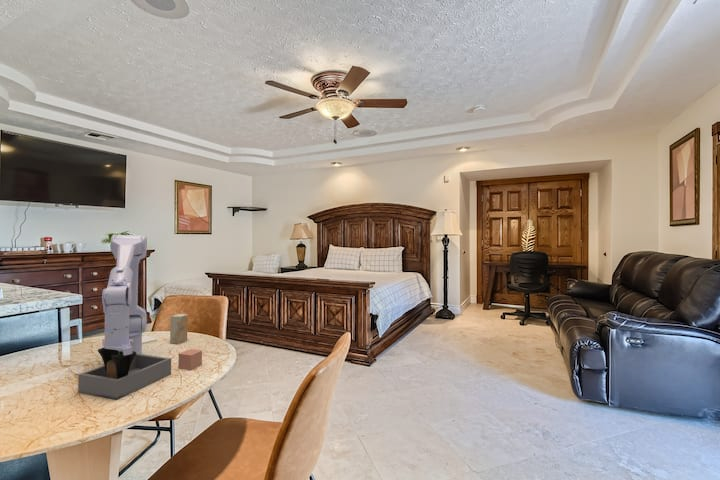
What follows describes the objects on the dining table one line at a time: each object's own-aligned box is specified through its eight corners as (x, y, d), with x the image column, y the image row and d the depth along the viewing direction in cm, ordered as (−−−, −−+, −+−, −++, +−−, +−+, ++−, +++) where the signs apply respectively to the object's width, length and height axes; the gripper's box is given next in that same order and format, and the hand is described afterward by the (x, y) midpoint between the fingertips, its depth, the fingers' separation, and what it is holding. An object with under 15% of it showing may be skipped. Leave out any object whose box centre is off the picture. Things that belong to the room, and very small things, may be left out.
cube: (178, 368, 114) (178, 353, 114) (189, 363, 118) (190, 348, 118) (190, 370, 112) (190, 355, 112) (201, 365, 117) (202, 350, 117)
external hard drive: (157, 342, 142) (123, 350, 132) (147, 339, 146) (113, 346, 136) (157, 338, 142) (123, 346, 132) (147, 335, 146) (113, 342, 136)
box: (178, 344, 138) (179, 316, 138) (169, 343, 139) (169, 316, 139) (187, 340, 143) (188, 314, 143) (178, 339, 144) (179, 313, 144)
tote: (78, 392, 96) (78, 374, 95) (136, 368, 113) (136, 353, 113) (116, 399, 92) (116, 381, 92) (171, 374, 109) (171, 358, 109)
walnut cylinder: (103, 386, 98) (103, 361, 98) (122, 380, 103) (123, 356, 102) (111, 390, 96) (111, 365, 96) (131, 384, 100) (131, 360, 100)
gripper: (144, 328, 98) (143, 376, 98) (121, 321, 106) (121, 364, 106) (115, 334, 92) (115, 384, 92) (94, 325, 100) (93, 372, 100)
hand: (116, 374), depth 99 cm, fingers open, 7 cm apart
